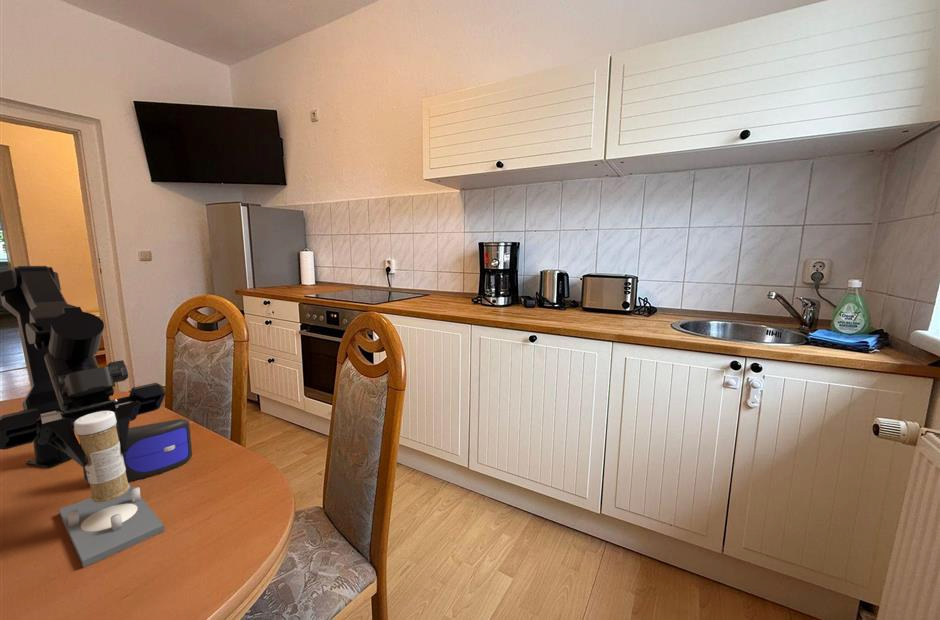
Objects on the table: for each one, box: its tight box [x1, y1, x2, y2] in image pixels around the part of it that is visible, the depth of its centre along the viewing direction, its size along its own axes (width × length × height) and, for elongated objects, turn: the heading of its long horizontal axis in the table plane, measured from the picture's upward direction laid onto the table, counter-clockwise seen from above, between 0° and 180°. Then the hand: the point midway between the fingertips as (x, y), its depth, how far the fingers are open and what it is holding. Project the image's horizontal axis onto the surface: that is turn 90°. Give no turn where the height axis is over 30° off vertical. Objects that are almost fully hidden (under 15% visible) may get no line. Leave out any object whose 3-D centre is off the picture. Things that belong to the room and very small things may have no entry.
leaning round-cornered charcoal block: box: [80, 418, 193, 484], centre depth 74 cm, size 16×5×9 cm, turn 123°
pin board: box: [58, 483, 166, 569], centre depth 61 cm, size 18×9×3 cm, turn 54°
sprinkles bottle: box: [74, 411, 130, 503], centre depth 60 cm, size 5×5×14 cm
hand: (105, 458), depth 59 cm, fingers closed on sprinkles bottle, 4 cm apart
